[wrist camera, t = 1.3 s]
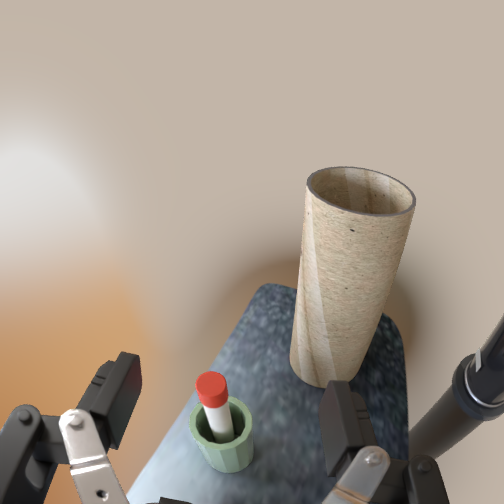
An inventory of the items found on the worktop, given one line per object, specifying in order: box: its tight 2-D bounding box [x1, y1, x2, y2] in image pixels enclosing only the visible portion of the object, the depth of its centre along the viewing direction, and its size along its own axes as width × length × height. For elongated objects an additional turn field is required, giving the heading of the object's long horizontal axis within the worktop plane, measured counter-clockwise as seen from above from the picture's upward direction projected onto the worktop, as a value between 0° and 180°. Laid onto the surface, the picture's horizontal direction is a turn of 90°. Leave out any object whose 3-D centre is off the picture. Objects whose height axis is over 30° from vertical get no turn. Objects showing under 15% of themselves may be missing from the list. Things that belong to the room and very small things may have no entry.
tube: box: [290, 167, 416, 388], centre depth 34 cm, size 10×10×25 cm
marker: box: [196, 371, 235, 444], centre depth 26 cm, size 2×2×16 cm
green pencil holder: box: [189, 396, 254, 473], centre depth 28 cm, size 6×6×10 cm
